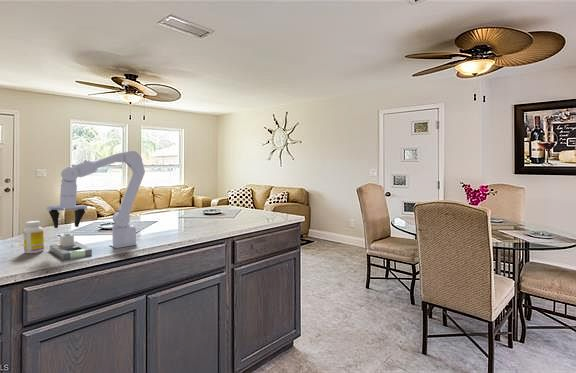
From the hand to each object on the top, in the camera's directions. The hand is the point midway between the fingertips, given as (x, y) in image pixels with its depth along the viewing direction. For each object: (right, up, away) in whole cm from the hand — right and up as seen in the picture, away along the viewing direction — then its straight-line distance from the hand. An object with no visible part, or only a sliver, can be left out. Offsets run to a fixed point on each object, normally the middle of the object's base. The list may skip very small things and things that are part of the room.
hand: (66, 227), depth 141 cm
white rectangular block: (0, -10, +1) cm, 10 cm away
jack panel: (+3, -11, -2) cm, 11 cm away
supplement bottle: (-13, -11, -1) cm, 17 cm away
